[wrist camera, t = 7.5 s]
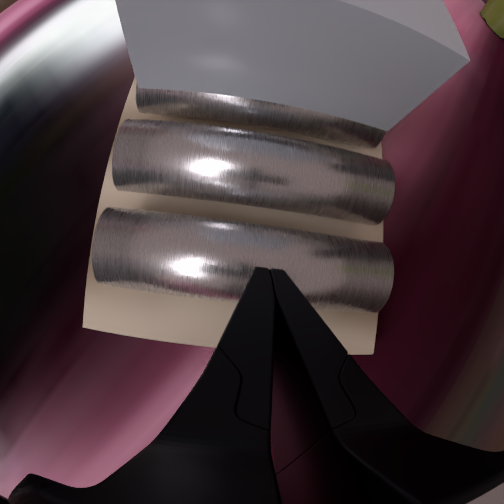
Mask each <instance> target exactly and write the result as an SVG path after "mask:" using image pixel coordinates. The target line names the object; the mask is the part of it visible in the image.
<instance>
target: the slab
mask: <svg viewBox="0 0 504 504" xmlns="http://www.w3.org/2000/svg"><path fill="white" fill-rule="evenodd" d="M115 1H116V5H117V9H118V13H119V18H120V22H121V26H122V30H123V33H124V37H125V41H126V45H127V49H128V52H129V56H130V60H131V63H132V67H133V71H134V74H135V78H136V81H137V85H138V88H144V89H165V90H180V91H192V92H202V93H211V94H220V95H228V96H235V97H242V98H249V99H255V100H261V101H267V102H272V103H278V104H283V105H288V106H293V107H298V108H302V109H307V110H311V111H316V112H320V113H324V114H328V115H332V116H336V117H340V118H344V119H348V120H351V121H355V122H358V123H362V124H365V125H369V126H372V127H375V128H379V129H382V130H385V131H389V130H390V129H391V128H393V127H394V126H395V125H396V124H397V123H398V122H399V121H401V120H402V119H403V118H404V117H405V116H406V115H408V114H409V113H410V112H411V111H412V110H413V109H415V108H416V107H417V106H418V105H419V104H420V103H422V102H423V101H424V100H425V99H426V98H427V97H429V96H430V95H431V94H432V93H433V92H434V91H436V90H437V89H438V88H439V87H440V86H441V85H443V84H444V83H445V82H446V81H447V80H448V79H450V78H451V77H452V76H453V75H454V74H455V73H457V72H458V71H459V70H460V69H461V68H462V67H464V66H465V65H466V64H467V63H468V62H469V61H470V59H469V56H468V54H467V51H466V49H465V46H464V44H463V41H462V39H461V37H460V34H459V32H458V30H457V28H456V26H455V23H454V21H453V19H452V17H451V15H450V13H449V11H448V9H447V7H446V5H445V3H444V1H443V0H115Z"/></svg>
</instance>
